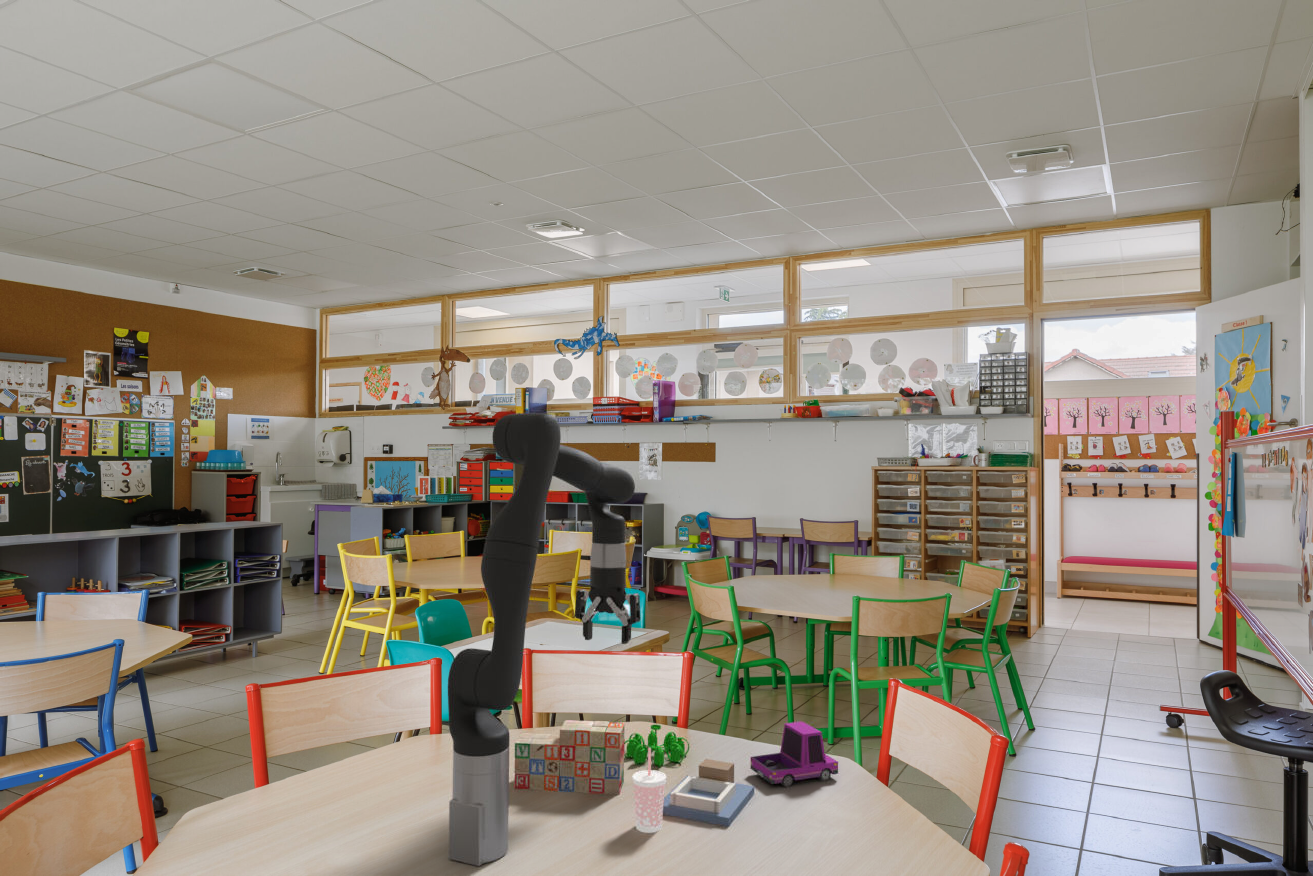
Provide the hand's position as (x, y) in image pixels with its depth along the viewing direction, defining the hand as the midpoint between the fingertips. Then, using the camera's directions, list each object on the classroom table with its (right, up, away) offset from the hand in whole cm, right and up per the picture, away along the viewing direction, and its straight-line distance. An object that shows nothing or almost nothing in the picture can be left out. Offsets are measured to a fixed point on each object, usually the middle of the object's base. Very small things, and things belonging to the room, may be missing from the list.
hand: (606, 641), depth 177 cm
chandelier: (+10, -28, +8) cm, 31 cm away
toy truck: (+39, -28, -3) cm, 48 cm away
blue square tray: (+20, -27, -17) cm, 37 cm away
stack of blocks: (-7, -27, -9) cm, 29 cm away
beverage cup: (+9, -27, -27) cm, 39 cm away
